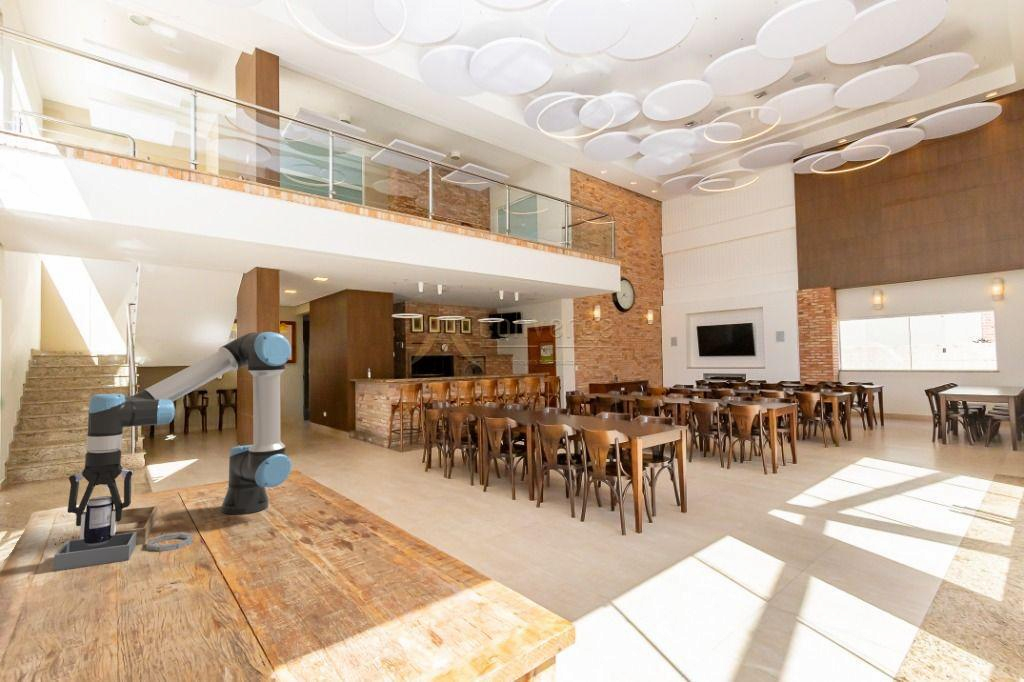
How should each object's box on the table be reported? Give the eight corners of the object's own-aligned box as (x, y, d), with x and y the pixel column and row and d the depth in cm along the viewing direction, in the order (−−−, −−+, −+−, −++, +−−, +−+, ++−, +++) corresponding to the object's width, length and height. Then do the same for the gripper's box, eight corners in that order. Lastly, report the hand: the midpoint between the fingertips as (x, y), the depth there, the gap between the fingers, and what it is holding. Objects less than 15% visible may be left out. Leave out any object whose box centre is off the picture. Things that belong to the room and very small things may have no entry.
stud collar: (193, 534, 149) (194, 530, 149) (191, 546, 140) (191, 542, 140) (150, 540, 144) (150, 536, 144) (144, 553, 134) (144, 549, 134)
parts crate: (156, 519, 162) (157, 505, 162) (144, 543, 141) (145, 528, 141) (106, 525, 156) (107, 511, 156) (86, 551, 135) (87, 535, 135)
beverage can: (116, 539, 134) (119, 495, 135) (100, 546, 128) (103, 501, 129) (94, 539, 134) (97, 495, 134) (78, 546, 128) (81, 501, 128)
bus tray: (135, 545, 140) (136, 531, 140) (128, 560, 130) (129, 545, 130) (66, 555, 132) (67, 540, 132) (53, 571, 122) (54, 555, 122)
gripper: (148, 445, 140) (143, 526, 139) (63, 450, 131) (57, 536, 130) (143, 450, 134) (138, 534, 132) (54, 455, 124) (47, 545, 123)
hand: (98, 535), depth 131 cm, fingers closed on beverage can, 6 cm apart
